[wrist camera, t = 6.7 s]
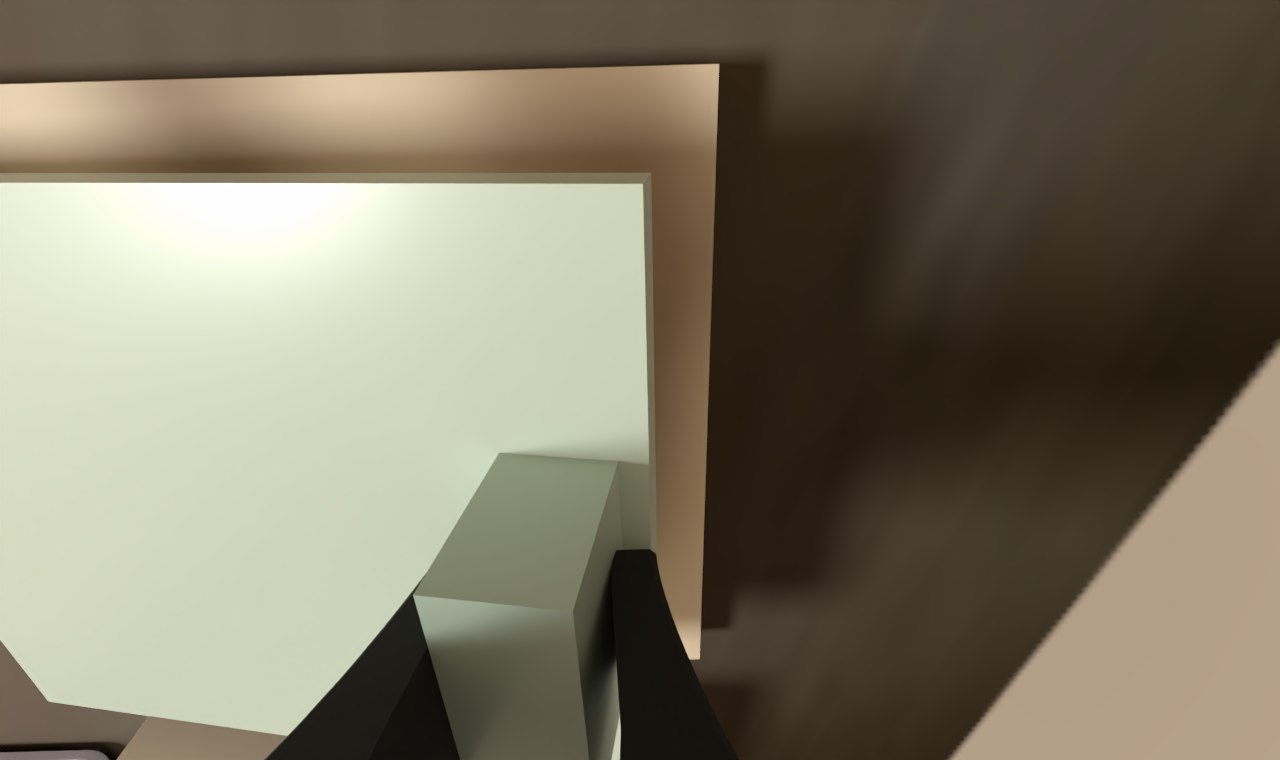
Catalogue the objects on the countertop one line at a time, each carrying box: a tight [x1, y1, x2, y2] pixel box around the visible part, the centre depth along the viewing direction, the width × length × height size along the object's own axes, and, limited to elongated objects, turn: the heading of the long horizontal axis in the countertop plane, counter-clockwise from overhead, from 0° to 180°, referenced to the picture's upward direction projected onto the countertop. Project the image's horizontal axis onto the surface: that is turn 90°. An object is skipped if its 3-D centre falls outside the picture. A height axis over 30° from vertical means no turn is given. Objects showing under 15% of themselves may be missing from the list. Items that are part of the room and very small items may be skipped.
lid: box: [0, 173, 657, 760], centre depth 11 cm, size 17×14×5 cm
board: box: [0, 64, 719, 659], centre depth 15 cm, size 20×16×1 cm
